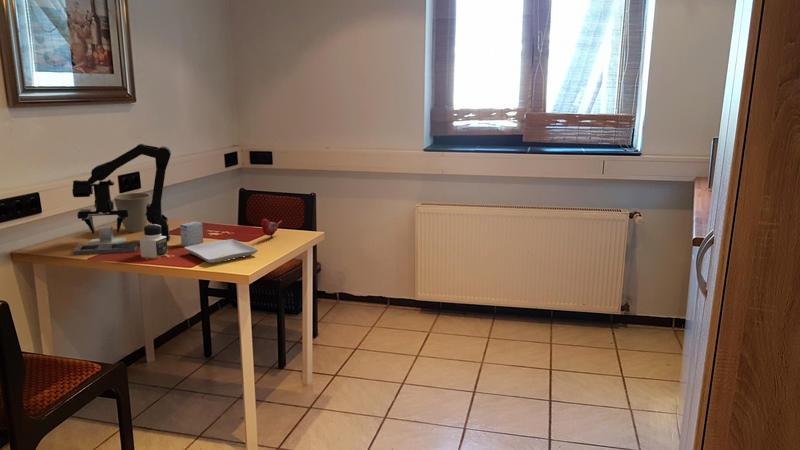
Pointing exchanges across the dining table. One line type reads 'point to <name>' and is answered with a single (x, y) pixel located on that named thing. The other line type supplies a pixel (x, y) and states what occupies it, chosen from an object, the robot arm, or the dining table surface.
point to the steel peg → (106, 234)
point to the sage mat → (116, 240)
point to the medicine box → (191, 233)
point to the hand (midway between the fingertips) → (106, 233)
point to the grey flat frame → (105, 248)
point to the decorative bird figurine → (269, 227)
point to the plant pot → (134, 210)
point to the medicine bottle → (153, 242)
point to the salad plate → (221, 250)
